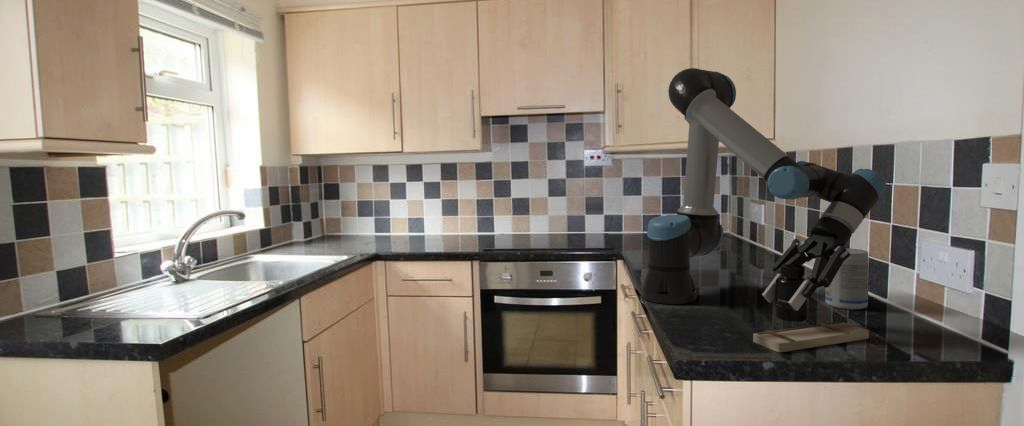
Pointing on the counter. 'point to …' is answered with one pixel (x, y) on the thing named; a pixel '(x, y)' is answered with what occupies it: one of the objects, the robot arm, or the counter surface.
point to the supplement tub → (850, 282)
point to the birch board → (810, 336)
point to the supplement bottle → (789, 293)
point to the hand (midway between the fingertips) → (779, 302)
